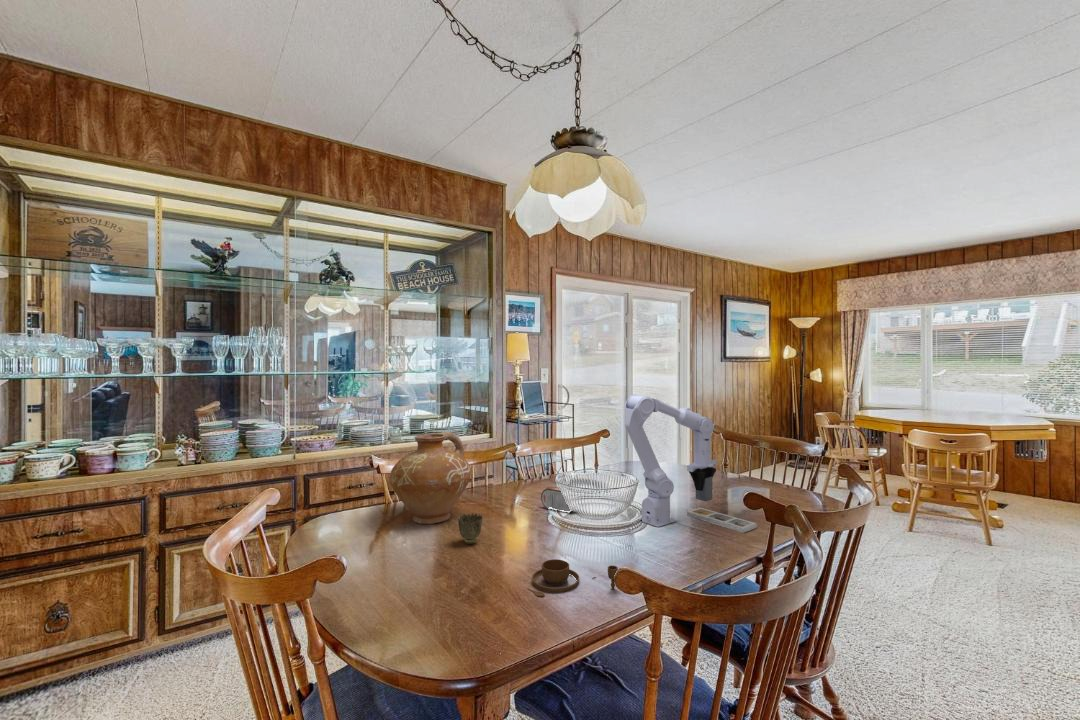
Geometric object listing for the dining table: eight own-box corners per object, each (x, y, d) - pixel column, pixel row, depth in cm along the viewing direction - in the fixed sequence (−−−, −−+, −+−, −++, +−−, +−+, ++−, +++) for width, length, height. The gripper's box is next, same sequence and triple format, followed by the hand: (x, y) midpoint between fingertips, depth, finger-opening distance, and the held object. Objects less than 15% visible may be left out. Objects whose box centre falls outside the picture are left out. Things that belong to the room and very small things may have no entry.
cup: (477, 548, 145) (477, 521, 145) (454, 546, 147) (454, 519, 147) (485, 539, 153) (485, 513, 153) (463, 537, 154) (463, 512, 154)
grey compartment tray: (743, 533, 156) (743, 528, 156) (687, 515, 173) (687, 511, 173) (756, 527, 160) (756, 523, 160) (700, 511, 178) (700, 507, 178)
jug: (376, 518, 174) (375, 434, 174) (445, 502, 193) (444, 426, 193) (414, 539, 153) (413, 443, 153) (487, 518, 172) (486, 433, 172)
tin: (579, 513, 178) (579, 489, 178) (575, 515, 175) (575, 492, 175) (544, 506, 186) (544, 484, 186) (539, 508, 183) (539, 486, 183)
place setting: (563, 566, 134) (563, 544, 134) (622, 591, 119) (622, 566, 119) (514, 587, 122) (514, 563, 122) (573, 617, 107) (573, 591, 107)
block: (705, 501, 169) (705, 478, 169) (695, 498, 172) (695, 476, 172) (712, 499, 171) (712, 476, 171) (702, 496, 175) (702, 474, 175)
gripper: (699, 454, 165) (699, 495, 165) (724, 449, 173) (724, 488, 173) (682, 451, 171) (682, 490, 171) (707, 447, 179) (707, 484, 179)
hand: (702, 489), depth 172 cm, fingers closed on block, 4 cm apart
